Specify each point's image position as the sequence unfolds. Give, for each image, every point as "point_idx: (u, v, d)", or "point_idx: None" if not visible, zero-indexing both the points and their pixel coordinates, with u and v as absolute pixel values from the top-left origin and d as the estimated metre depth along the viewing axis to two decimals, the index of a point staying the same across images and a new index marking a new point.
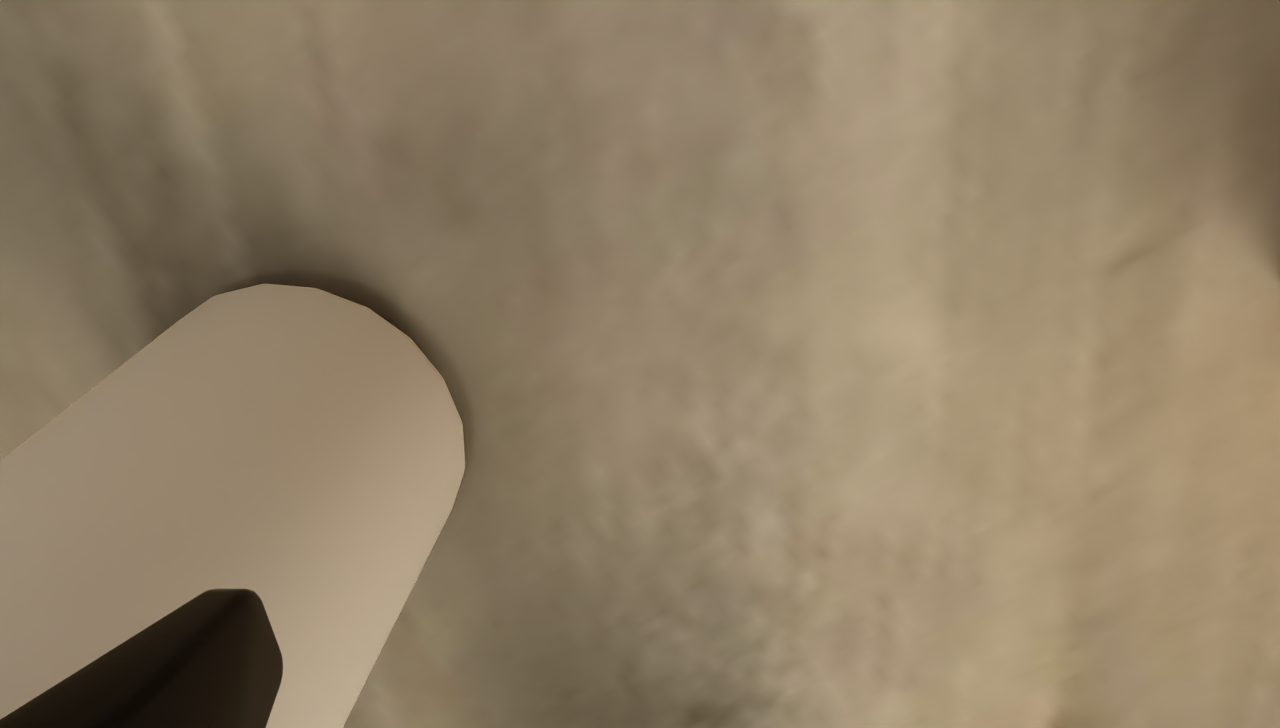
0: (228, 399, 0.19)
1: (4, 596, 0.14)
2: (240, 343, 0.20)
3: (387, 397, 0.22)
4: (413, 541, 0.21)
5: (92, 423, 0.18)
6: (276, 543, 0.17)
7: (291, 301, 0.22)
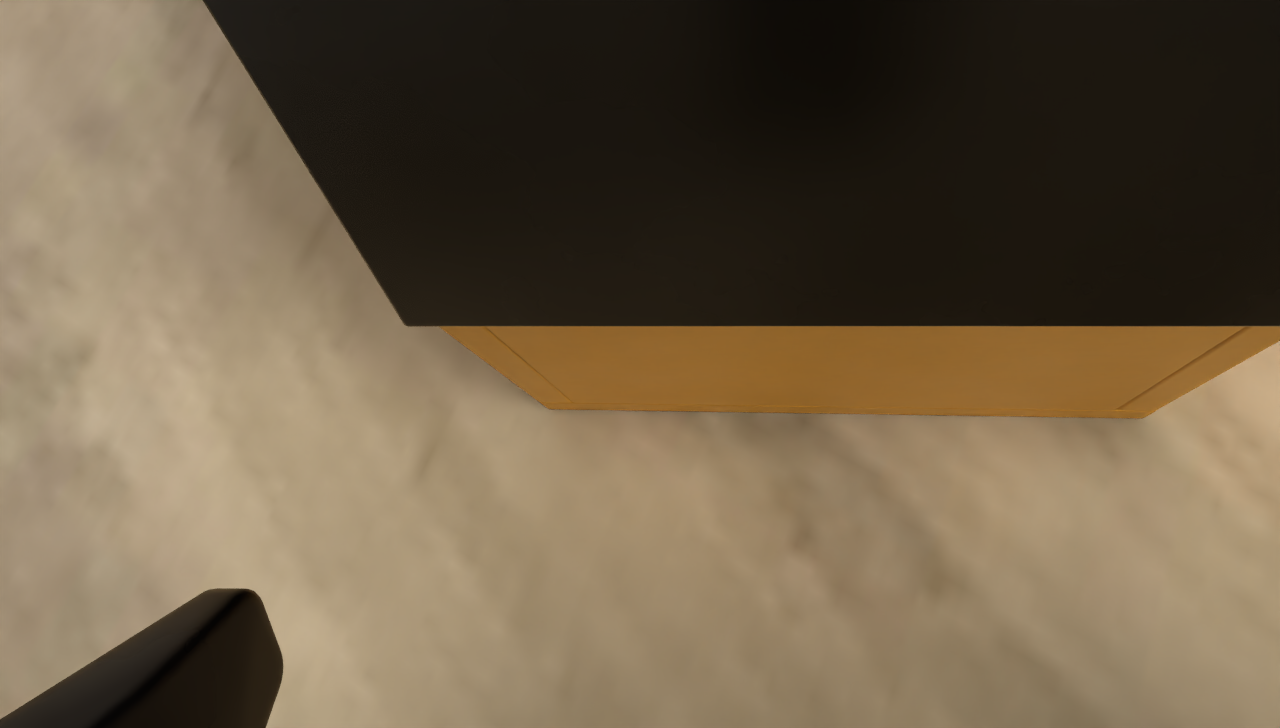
0: None
1: None
2: None
3: None
4: None
5: None
6: None
7: None
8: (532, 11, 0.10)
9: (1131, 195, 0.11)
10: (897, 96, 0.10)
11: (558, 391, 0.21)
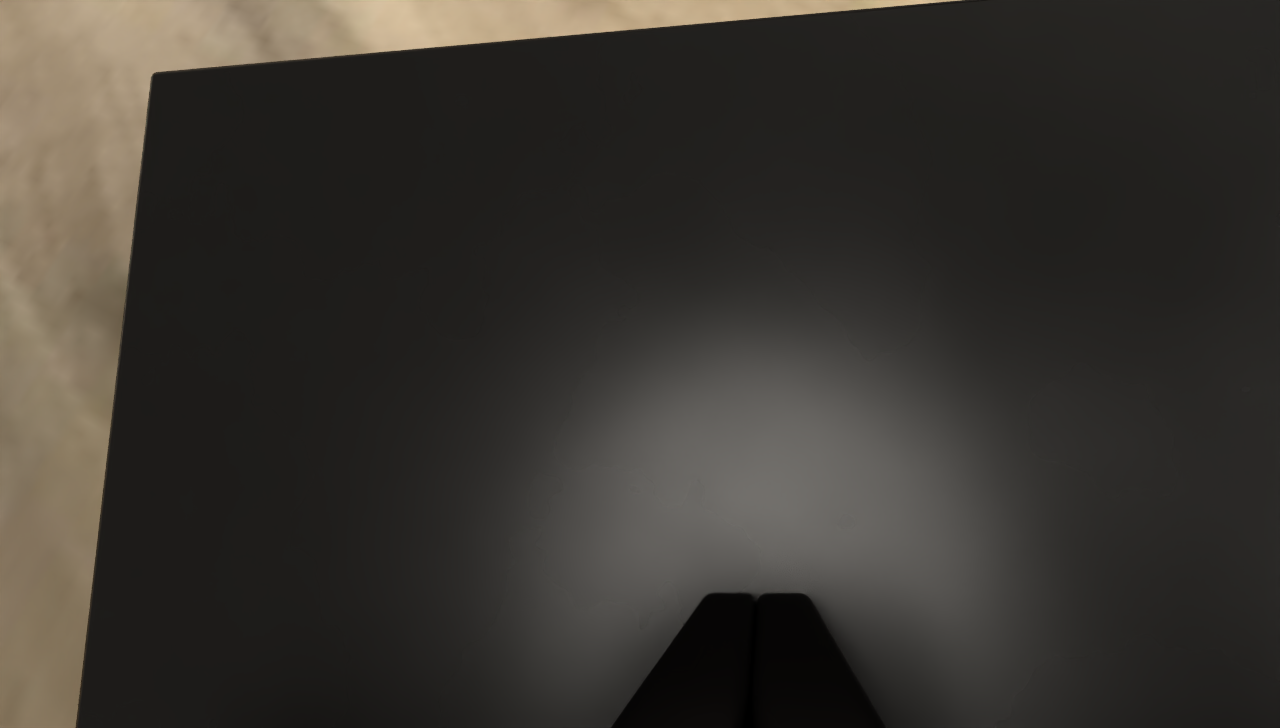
0: None
1: None
2: None
3: None
4: None
5: None
6: None
7: None
8: None
9: None
10: None
11: None
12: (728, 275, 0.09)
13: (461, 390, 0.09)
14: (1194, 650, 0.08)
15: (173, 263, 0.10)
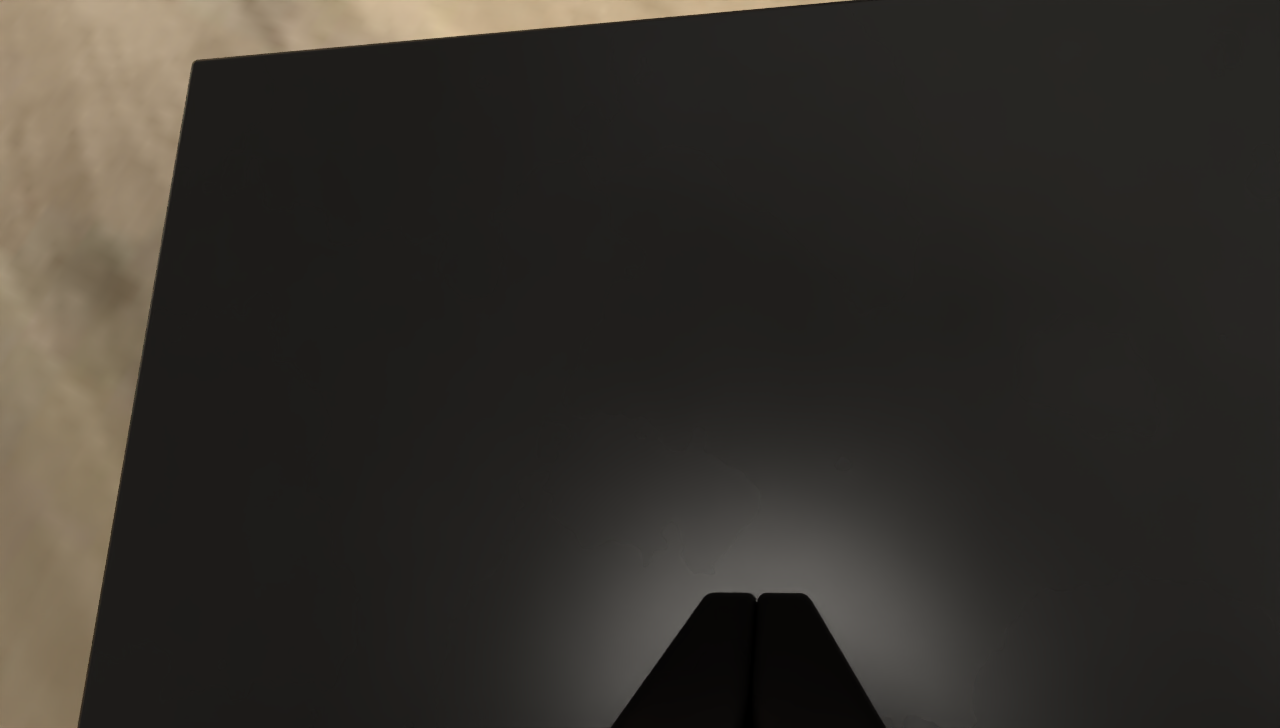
0: None
1: None
2: None
3: None
4: None
5: None
6: None
7: None
8: None
9: None
10: None
11: None
12: (731, 237, 0.10)
13: (475, 344, 0.10)
14: (1179, 581, 0.08)
15: (204, 230, 0.11)
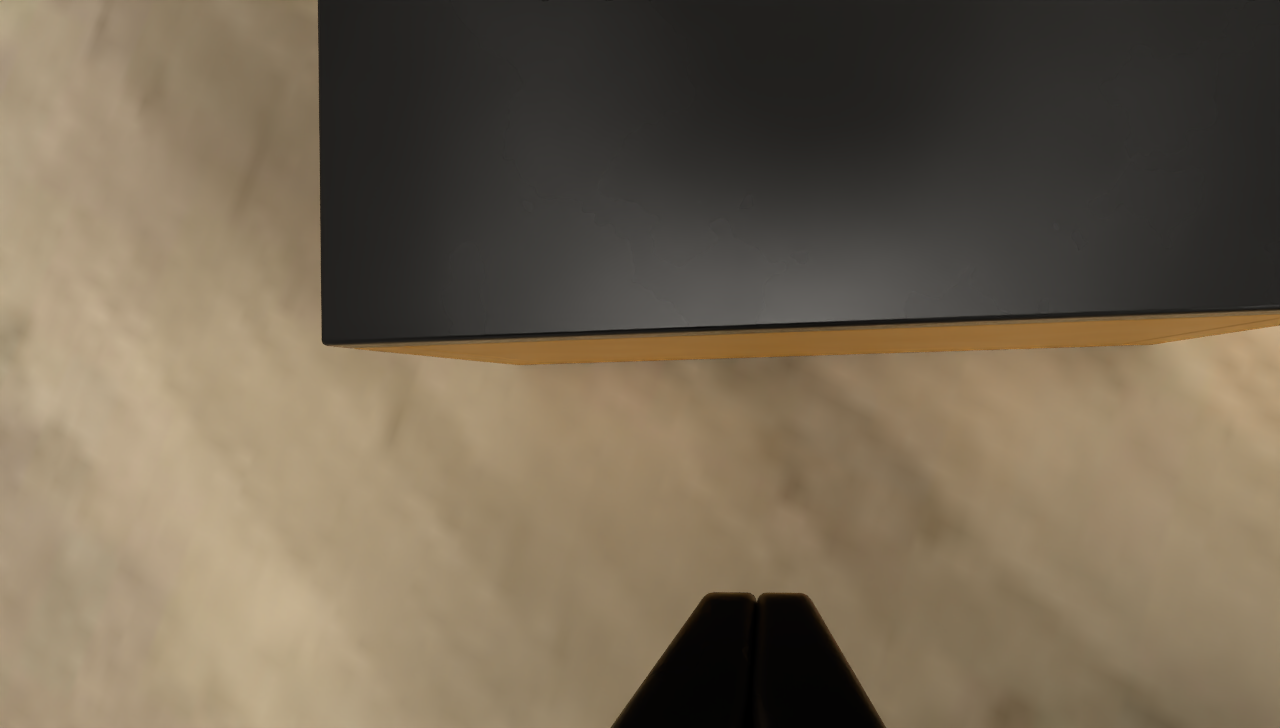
0: None
1: None
2: None
3: None
4: None
5: None
6: None
7: None
8: None
9: (1078, 88, 0.11)
10: None
11: (523, 360, 0.19)
12: None
13: None
14: None
15: None
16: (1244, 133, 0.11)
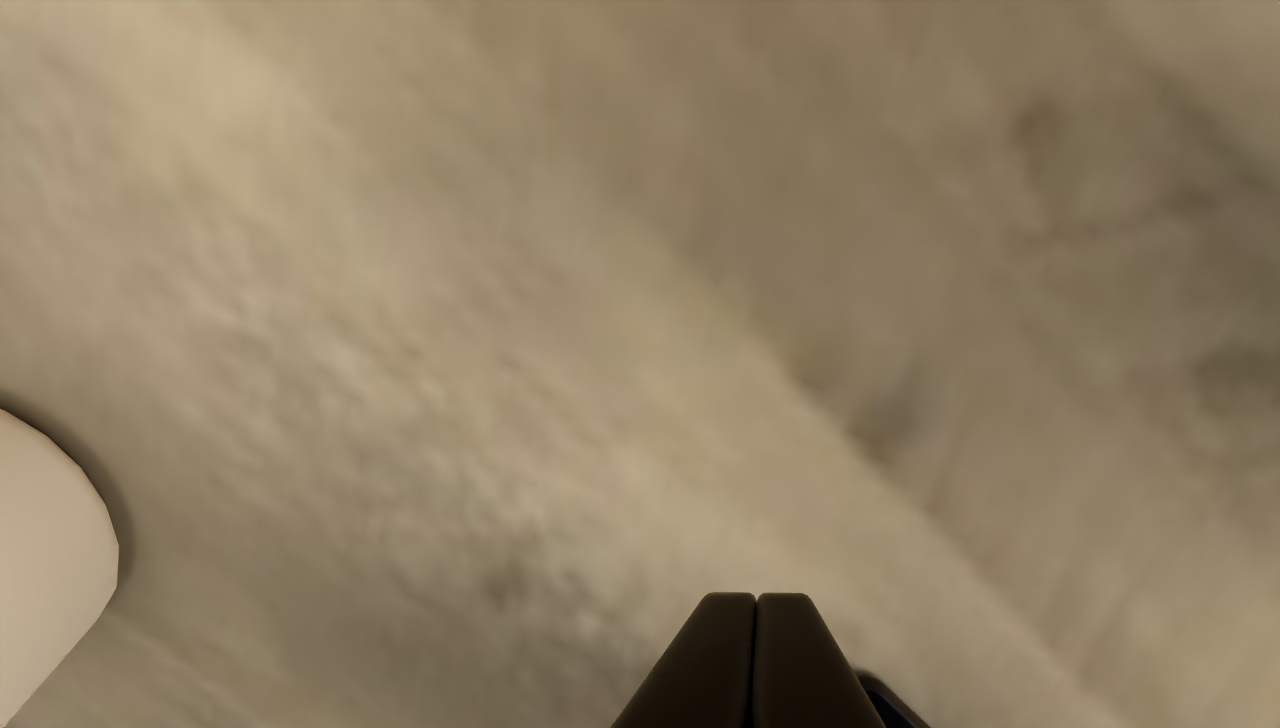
0: None
1: None
2: None
3: None
4: None
5: None
6: None
7: None
8: None
9: None
10: None
11: None
12: None
13: None
14: None
15: None
16: None
